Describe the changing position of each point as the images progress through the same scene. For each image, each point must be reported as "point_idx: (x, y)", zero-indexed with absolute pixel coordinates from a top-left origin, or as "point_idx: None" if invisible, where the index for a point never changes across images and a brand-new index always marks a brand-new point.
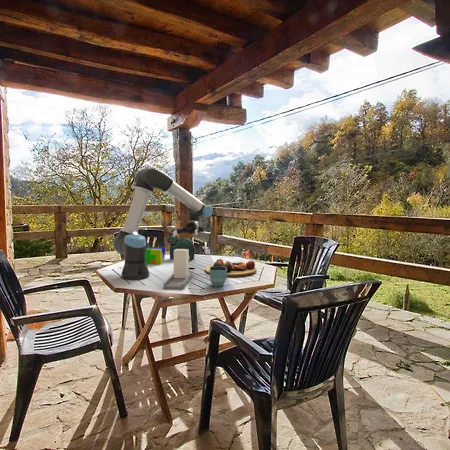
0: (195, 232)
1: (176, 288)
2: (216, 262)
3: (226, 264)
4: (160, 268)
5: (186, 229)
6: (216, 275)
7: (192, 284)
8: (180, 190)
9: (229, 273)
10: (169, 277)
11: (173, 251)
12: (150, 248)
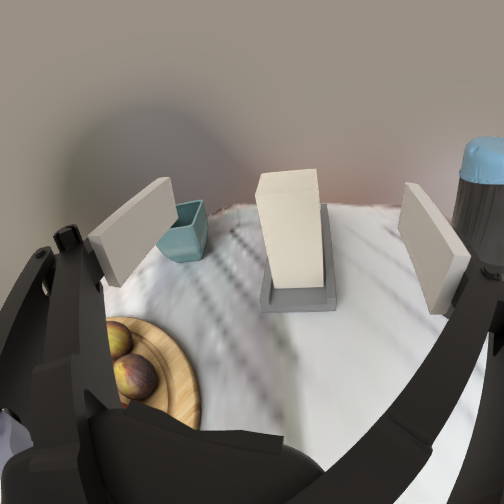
0: (169, 193)
1: None
2: (131, 361)
3: (110, 321)
4: (451, 444)
5: (284, 449)
6: (190, 215)
7: (258, 249)
8: None
9: (124, 324)
10: (330, 241)
11: None
12: None
